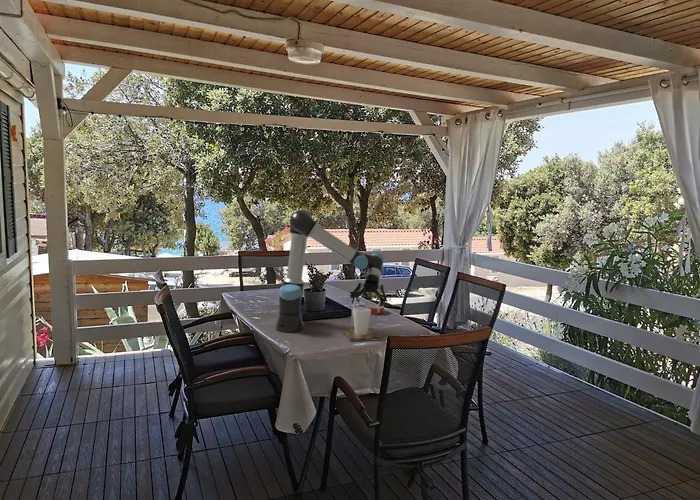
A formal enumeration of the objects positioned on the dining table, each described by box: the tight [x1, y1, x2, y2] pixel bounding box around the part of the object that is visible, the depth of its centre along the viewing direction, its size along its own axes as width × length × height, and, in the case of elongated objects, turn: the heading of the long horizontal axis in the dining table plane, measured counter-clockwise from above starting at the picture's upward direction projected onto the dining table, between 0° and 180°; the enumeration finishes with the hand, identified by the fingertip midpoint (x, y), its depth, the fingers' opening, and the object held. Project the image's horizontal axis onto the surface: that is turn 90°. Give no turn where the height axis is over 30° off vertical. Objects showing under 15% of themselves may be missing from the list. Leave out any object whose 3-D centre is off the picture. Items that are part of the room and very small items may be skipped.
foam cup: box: [352, 306, 372, 335], centre depth 256 cm, size 10×9×13 cm
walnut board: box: [342, 328, 381, 342], centre depth 256 cm, size 16×15×2 cm
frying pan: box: [357, 298, 385, 316], centre depth 316 cm, size 32×13×6 cm, turn 39°
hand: (365, 310), depth 259 cm, fingers open, 13 cm apart
